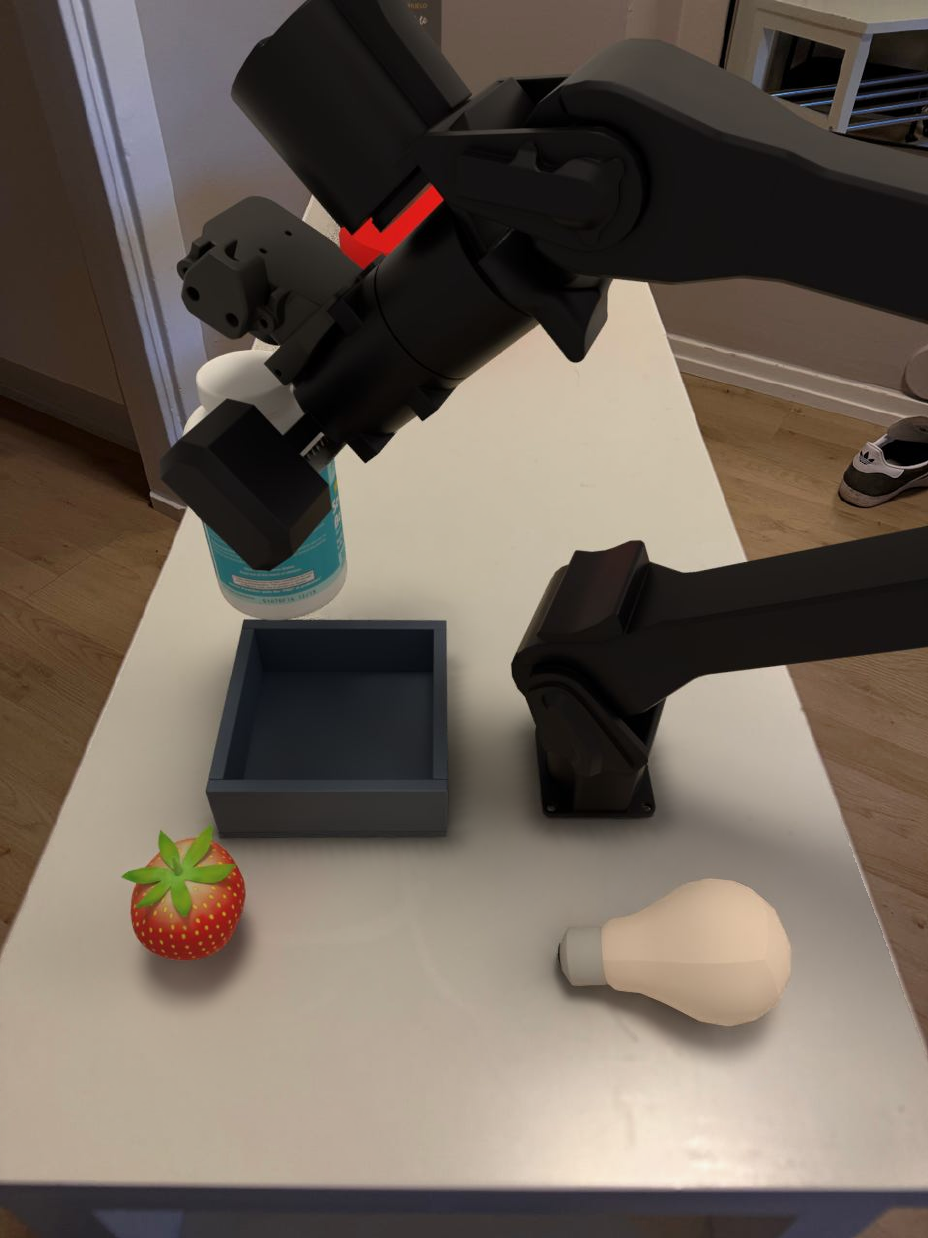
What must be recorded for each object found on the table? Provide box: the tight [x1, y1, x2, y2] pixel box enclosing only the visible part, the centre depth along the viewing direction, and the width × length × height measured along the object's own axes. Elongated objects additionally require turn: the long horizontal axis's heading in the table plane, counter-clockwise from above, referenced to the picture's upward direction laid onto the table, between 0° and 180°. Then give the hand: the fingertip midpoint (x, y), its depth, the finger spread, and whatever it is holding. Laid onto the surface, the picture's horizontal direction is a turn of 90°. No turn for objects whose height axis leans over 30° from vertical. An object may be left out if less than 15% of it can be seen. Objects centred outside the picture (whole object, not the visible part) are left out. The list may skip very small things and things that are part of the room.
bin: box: [205, 618, 449, 838], centre depth 51 cm, size 13×13×4 cm
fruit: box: [120, 823, 246, 961], centre depth 41 cm, size 5×5×8 cm
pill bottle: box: [182, 349, 348, 620], centre depth 46 cm, size 8×7×14 cm
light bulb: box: [556, 877, 792, 1027], centre depth 42 cm, size 7×7×11 cm
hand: (245, 476), depth 46 cm, fingers closed on pill bottle, 7 cm apart
